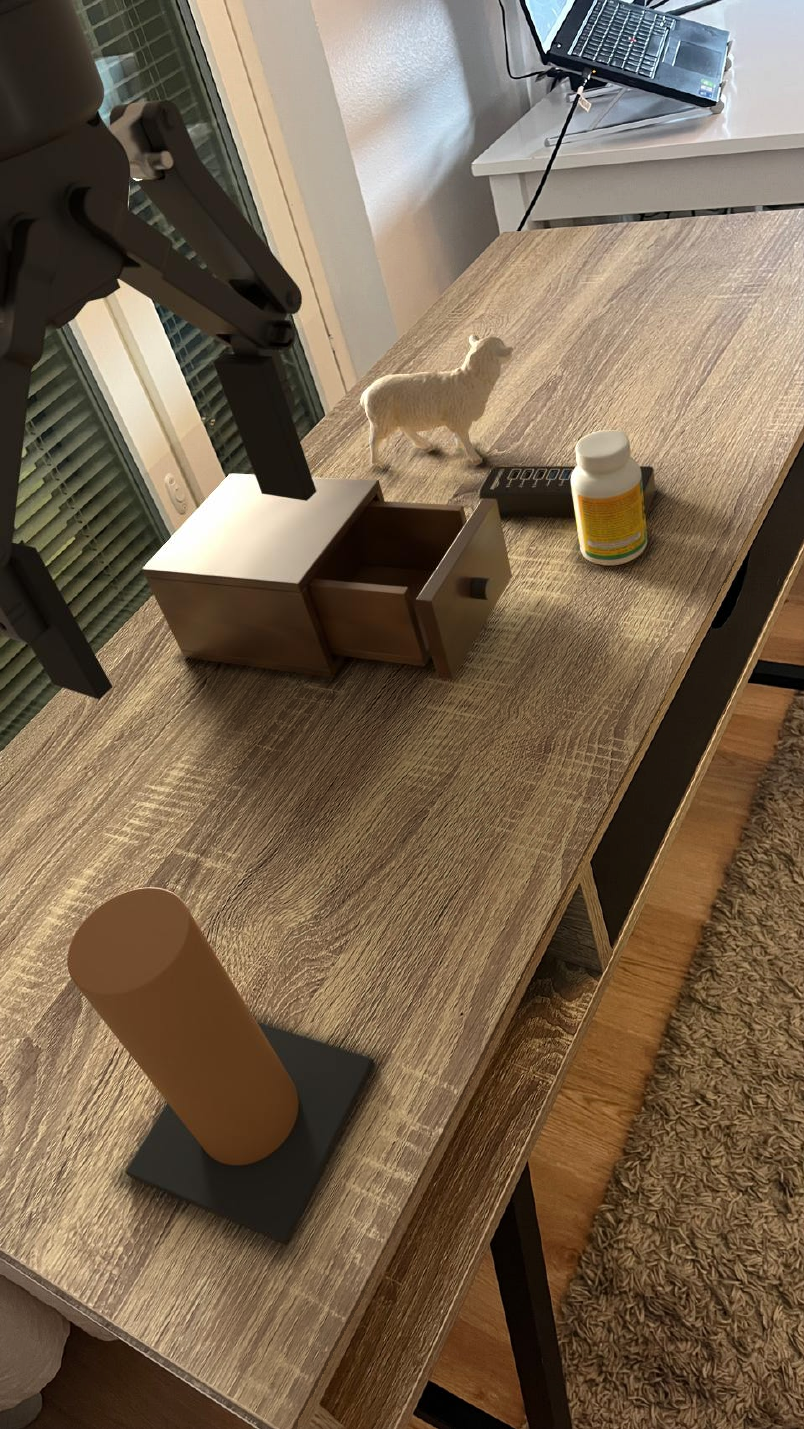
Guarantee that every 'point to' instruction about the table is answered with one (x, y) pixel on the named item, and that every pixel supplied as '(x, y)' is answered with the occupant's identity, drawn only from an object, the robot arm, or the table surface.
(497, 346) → the figurine
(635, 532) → the supplement bottle
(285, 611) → the cabinet
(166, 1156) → the mat
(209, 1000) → the brown cylinder
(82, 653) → the robot arm
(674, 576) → the table surface
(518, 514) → the multiport hub
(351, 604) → the drawer
